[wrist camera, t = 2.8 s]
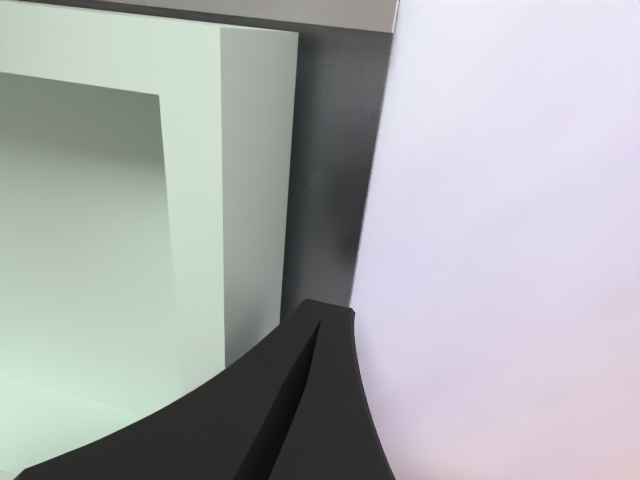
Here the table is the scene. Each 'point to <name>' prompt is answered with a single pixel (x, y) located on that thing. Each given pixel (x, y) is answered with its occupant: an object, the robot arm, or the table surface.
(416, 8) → the table surface
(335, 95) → the track plate
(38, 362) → the pale green square tray
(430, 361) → the table surface
